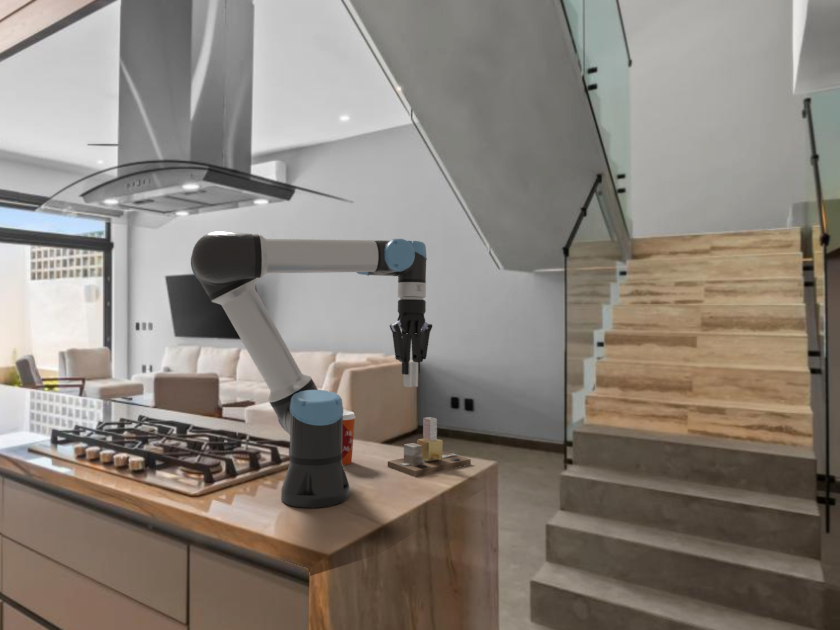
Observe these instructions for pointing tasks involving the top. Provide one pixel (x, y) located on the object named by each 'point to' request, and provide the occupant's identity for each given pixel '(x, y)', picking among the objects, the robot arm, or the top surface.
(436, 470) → the assembly board
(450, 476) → the top surface
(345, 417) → the paper cup
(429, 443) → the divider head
